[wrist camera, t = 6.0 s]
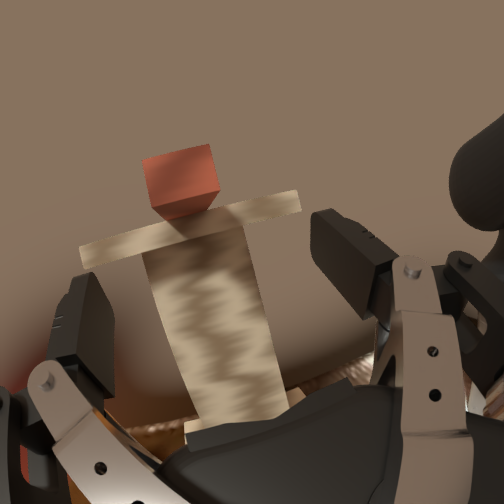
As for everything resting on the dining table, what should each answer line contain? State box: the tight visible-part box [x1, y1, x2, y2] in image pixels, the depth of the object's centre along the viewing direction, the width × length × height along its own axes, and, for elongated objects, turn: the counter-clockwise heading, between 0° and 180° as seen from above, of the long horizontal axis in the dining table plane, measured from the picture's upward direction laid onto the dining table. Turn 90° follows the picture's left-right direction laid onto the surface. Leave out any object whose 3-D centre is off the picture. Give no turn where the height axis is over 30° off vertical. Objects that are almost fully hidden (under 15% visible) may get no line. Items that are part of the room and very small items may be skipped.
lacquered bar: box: [142, 144, 220, 221], centre depth 26 cm, size 4×26×2 cm, turn 13°
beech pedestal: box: [79, 190, 306, 445], centre depth 33 cm, size 20×16×32 cm
